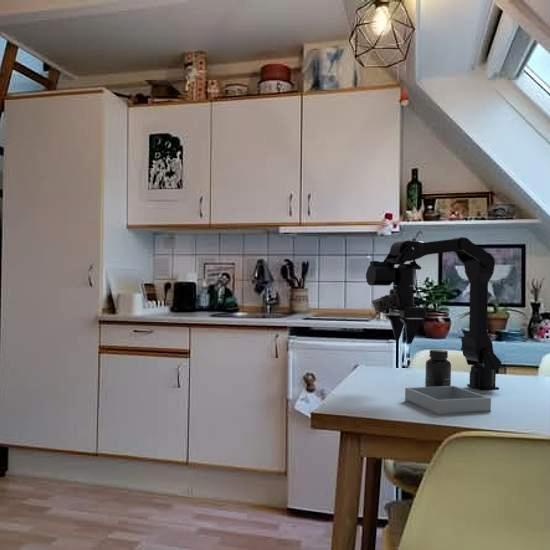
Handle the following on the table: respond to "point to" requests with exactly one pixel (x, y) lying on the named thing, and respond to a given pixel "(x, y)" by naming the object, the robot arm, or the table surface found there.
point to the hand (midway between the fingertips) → (402, 341)
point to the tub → (447, 400)
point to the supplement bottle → (438, 369)
